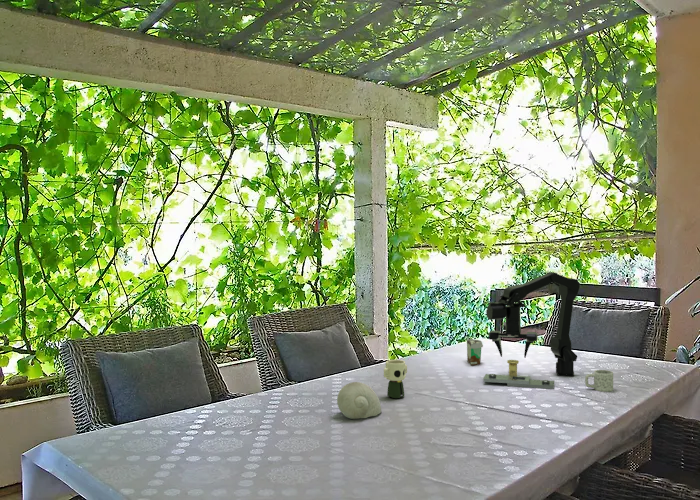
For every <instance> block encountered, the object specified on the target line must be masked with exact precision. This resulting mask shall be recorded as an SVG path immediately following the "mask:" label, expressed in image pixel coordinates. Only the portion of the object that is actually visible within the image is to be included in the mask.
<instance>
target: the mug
mask: <svg viewBox="0 0 700 500" xmlns="http://www.w3.org/2000/svg"><path fill="white" fill-rule="evenodd" d="M591 377H592V378H593V384H591V383H590V384H589V378H591ZM584 381H585V386H586V387H587V388H590V389H591V388H592V389H593V390H595V391H597V392H604V393H611V392H613V391H614V371H612V370H606V369H597V370H594V372H593V373H589V374H586V375H585V378H584Z"/></svg>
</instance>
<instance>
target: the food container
mask: <svg viewBox="0 0 700 500" xmlns="http://www.w3.org/2000/svg"><path fill="white" fill-rule="evenodd" d="M483 347H484V344H483V341H482V340H478V339H473V338H467V339H466V355H467V356H466V357H467V358H466V359H467V360H466V361H467V363H468V364H469V366H470V367H474V366H480V365H481V359H482V348H483Z"/></svg>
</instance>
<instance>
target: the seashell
mask: <svg viewBox="0 0 700 500" xmlns="http://www.w3.org/2000/svg"><path fill="white" fill-rule="evenodd" d="M336 400H337V401H336V402H337V403H336V404H337V407H338V409H339V411H340V412H341V414H343V416H344V417H346V418H348V419H350V420H359V419H367V418H369V417H376V416H378V415H380V414H382V405H381V402H380V399H379V397H378V395H377V393H376V392H375V391H374V390H373V389H372V388H371V386H369V385H367V384H366V383H363V382H358V381H353V382H349V383H347V384H345V385H344V386H342V388H340V390H339V391H338V394H337V399H336Z"/></svg>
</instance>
